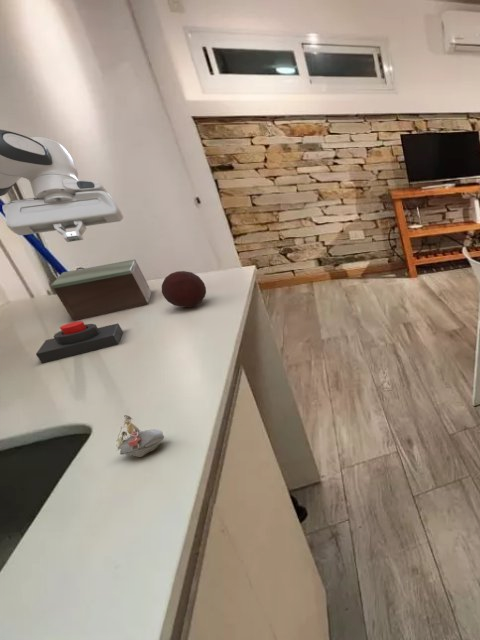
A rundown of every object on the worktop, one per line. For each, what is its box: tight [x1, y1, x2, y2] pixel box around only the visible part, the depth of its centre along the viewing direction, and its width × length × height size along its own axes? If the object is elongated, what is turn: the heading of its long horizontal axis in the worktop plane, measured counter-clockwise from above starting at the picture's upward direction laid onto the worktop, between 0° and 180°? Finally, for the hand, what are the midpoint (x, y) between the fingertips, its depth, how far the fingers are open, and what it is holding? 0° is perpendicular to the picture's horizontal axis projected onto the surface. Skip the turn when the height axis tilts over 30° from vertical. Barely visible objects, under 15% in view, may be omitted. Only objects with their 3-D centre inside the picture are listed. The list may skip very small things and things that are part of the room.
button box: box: [35, 322, 124, 364], centre depth 103 cm, size 12×9×4 cm
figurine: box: [115, 414, 165, 458], centre depth 67 cm, size 5×4×6 cm
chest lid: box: [50, 259, 137, 290], centre depth 124 cm, size 15×15×1 cm
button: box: [59, 320, 87, 335], centre depth 102 cm, size 4×4×2 cm
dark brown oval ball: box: [161, 270, 207, 308], centre depth 121 cm, size 9×12×9 cm
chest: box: [53, 261, 153, 322], centre depth 126 cm, size 14×15×9 cm
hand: (74, 239), depth 117 cm, fingers closed
